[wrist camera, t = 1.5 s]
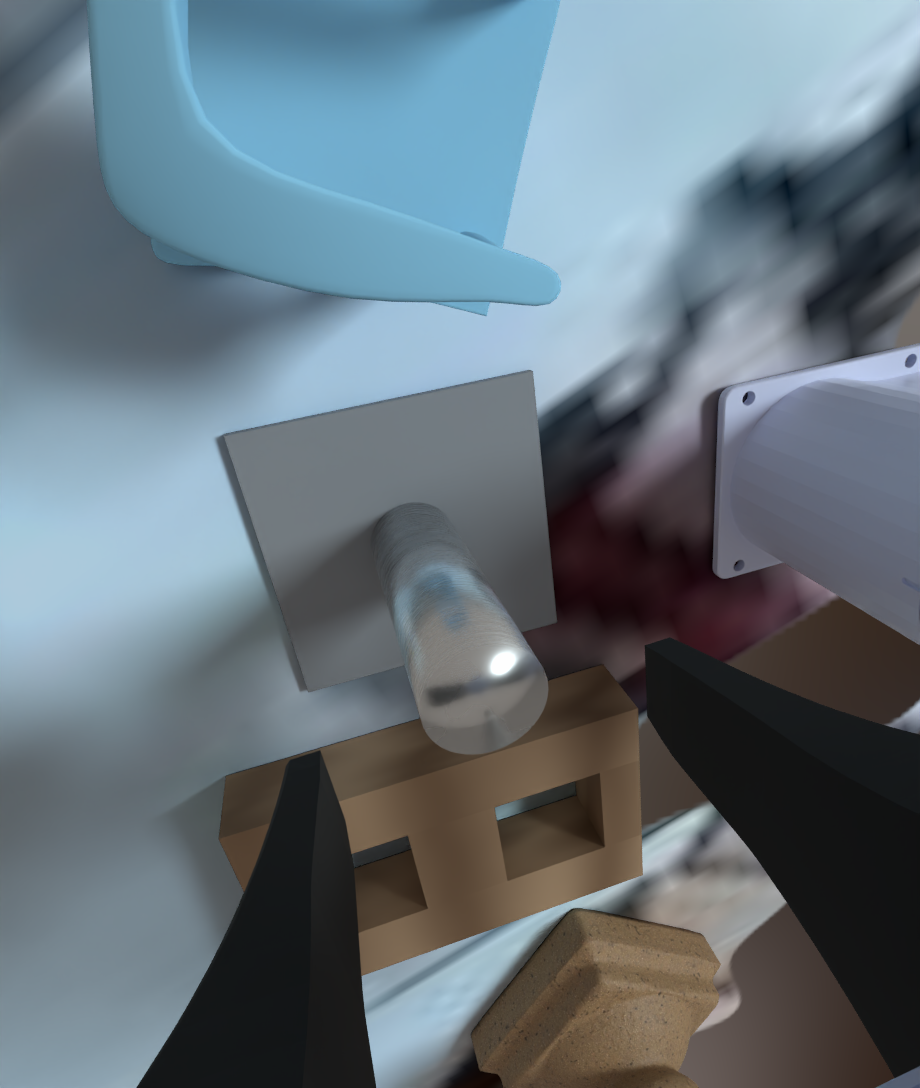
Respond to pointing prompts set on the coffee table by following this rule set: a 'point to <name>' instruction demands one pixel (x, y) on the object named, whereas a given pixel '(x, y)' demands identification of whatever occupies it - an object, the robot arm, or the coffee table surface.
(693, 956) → the candle holder
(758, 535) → the robot arm
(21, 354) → the coffee table surface
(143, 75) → the chair
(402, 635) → the peg
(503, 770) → the block
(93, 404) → the coffee table surface
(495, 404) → the mat
